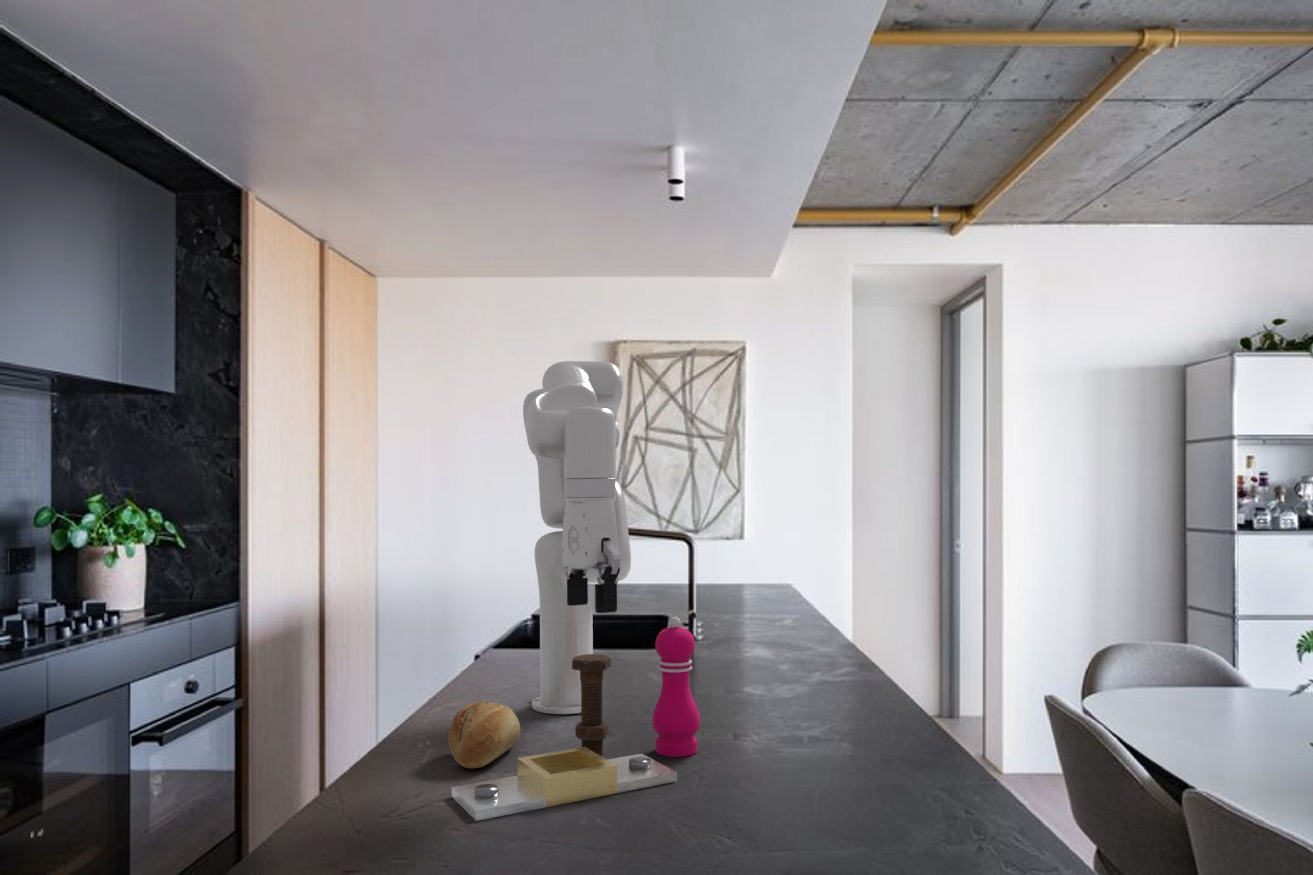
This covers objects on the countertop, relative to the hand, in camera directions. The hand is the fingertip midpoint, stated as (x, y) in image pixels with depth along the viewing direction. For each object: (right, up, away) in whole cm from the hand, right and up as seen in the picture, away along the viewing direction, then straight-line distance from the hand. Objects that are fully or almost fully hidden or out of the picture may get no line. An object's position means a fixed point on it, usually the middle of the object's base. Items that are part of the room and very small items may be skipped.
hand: (591, 608), depth 134 cm
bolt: (0, -22, -1) cm, 22 cm away
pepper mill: (+13, -22, +4) cm, 26 cm away
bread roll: (-16, -23, +1) cm, 28 cm away
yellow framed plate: (-2, -22, -13) cm, 25 cm away
